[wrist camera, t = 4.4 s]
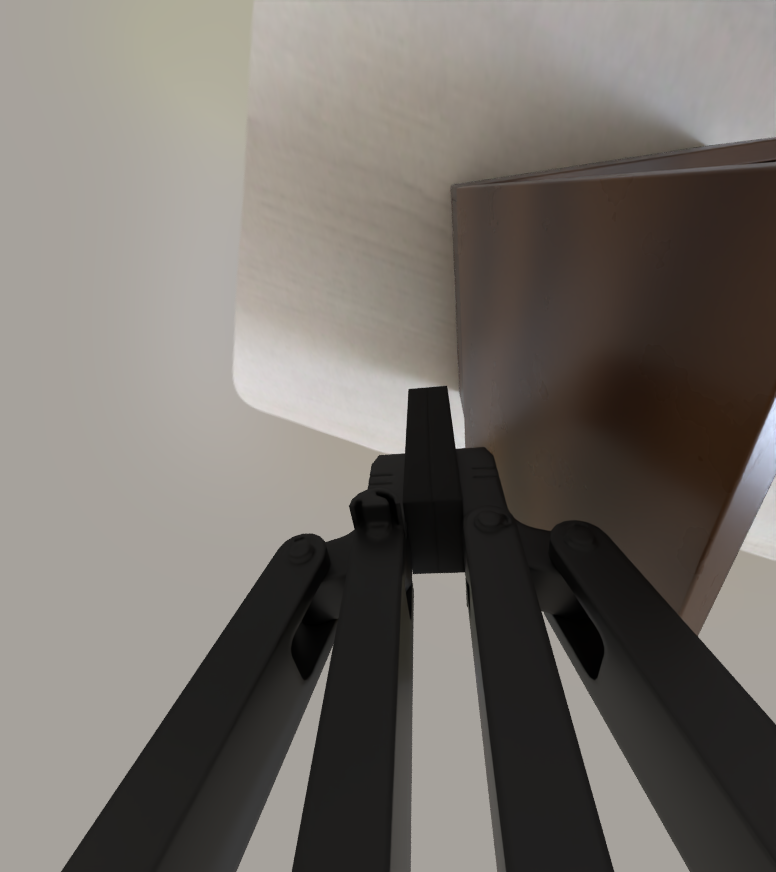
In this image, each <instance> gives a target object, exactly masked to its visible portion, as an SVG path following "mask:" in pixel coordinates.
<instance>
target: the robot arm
mask: <svg viewBox="0 0 776 872" xmlns="http://www.w3.org/2000/svg"><path fill="white" fill-rule="evenodd" d="M349 507H350V512H351V516H352V520H353V524H354V528H355V530H354V531H352V532H351V533H349V534H347V535H346V536H343V537H341V538H338V539H334V540H331V541H328V542H325V541H324V540H323V539H322V538H321V537H320V536H317V535H315V534H301V535H297V536H294V537H292V538H291V539H289V540H287V541H286V542H285V543H284V544H283V545H282V546H281V547H280V548H279V549H278V550H277V552H276V553H275V555H274V556H273V558H272V559H271V561H270V562H269V564H268V565H267V567H266V568H265V570H264V571H263V573H262V574H261V576H260V577H259V579H258V580H257V582H256V583H255V585H254V586H253V588H252V589H251V591H250V592H249V594H248V595H247V597H246V598H245V599H244V601H243V603H242V604H241V605H240V607H239V608H238V610H237V611H236V613H235V614H234V616H233V617H232V619H231V620H230V622H229V623H228V625H227V626H226V628H225V629H224V631H223V632H222V634H221V635H220V637H219V638H218V640H217V641H216V643H215V644H214V645H213V647H212V648H211V650H210V651H209V653H208V655H207V656H206V657H205V659H204V660H203V662H202V663H201V665H200V666H199V668H198V669H197V671H196V672H195V674H194V675H193V677H192V678H191V680H190V681H189V683H188V684H187V686H186V687H185V689H184V690H183V691H182V693H181V695H180V696H179V698H178V699H177V700H176V702H175V703H174V705H173V706H172V708H171V709H170V711H169V712H168V714H167V715H166V717H165V718H164V720H163V721H162V723H161V724H160V726H159V727H158V729H157V730H156V732H155V733H154V735H153V736H152V738H151V739H150V741H149V742H148V743H147V745H146V747H145V748H144V749H143V751H142V752H141V754H140V755H139V757H138V758H137V760H136V761H135V763H134V764H133V766H132V767H131V769H130V770H129V772H128V773H127V775H126V776H125V778H124V779H123V781H122V782H121V783H120V785H119V787H118V788H117V789H116V791H115V792H114V794H113V795H112V797H111V798H110V800H109V801H108V803H107V804H106V806H105V807H104V809H103V810H102V812H101V813H100V815H99V816H98V818H97V819H96V821H95V822H94V824H93V825H92V827H91V828H90V830H89V831H88V832H87V834H86V835H85V837H84V839H83V840H82V841H81V843H80V844H79V846H78V847H77V849H76V850H75V852H74V853H73V855H72V856H71V858H70V859H69V861H68V862H67V864H66V865H65V867H64V868H63V870H62V871H61V872H236V871H237V869H238V866H239V864H240V862H241V859H242V857H243V855H244V852H245V850H246V848H247V845H248V843H249V841H250V838H251V836H252V834H253V831H254V829H255V827H256V824H257V822H258V820H259V817H260V815H261V812H262V810H263V808H264V806H265V803H266V801H267V798H268V796H269V794H270V791H271V789H272V787H273V784H274V782H275V780H276V777H277V775H278V773H279V770H280V768H281V766H282V763H283V761H284V759H285V756H286V754H287V752H288V749H289V747H290V745H291V742H292V740H293V737H294V735H295V733H296V730H297V728H298V726H299V723H300V721H301V719H302V716H303V714H304V712H305V709H306V707H307V705H308V702H309V700H310V698H311V695H312V693H313V691H314V688H315V686H316V684H317V681H318V679H319V677H320V674H321V672H322V669H323V667H324V665H325V662H326V660H327V658H328V656H329V653H330V651H331V648H332V646H333V650H332V655H331V661H330V666H329V672H328V677H327V683H326V689H325V694H324V699H323V705H322V710H321V715H320V721H319V726H318V732H317V737H316V743H315V748H314V754H313V759H312V765H311V770H310V775H309V781H308V786H307V792H306V797H305V803H304V808H303V813H302V819H301V824H300V830H299V835H298V841H297V846H296V852H295V857H294V863H293V868H292V872H410V871H411V868H410V867H411V783H412V696H413V693H412V692H413V690H412V689H413V610H414V609H413V608H414V604H413V603H414V589H413V583H412V570H413V574H424V573H425V574H426V573H458V572H465V576H466V595H467V607H468V610H469V619H470V629H471V638H472V647H473V656H474V665H475V674H476V683H477V692H478V700H479V710H480V719H481V728H482V737H483V746H484V755H485V764H486V773H487V782H488V791H489V800H490V808H491V809H490V810H491V819H492V827H493V837H494V846H495V855H496V863H497V872H614V870H613V866H612V862H611V859H610V855H609V851H608V848H607V844H606V841H605V837H604V834H603V830H602V826H601V823H600V820H599V816H598V812H597V808H596V805H595V801H594V798H593V794H592V791H591V787H590V784H589V780H588V777H587V773H586V769H585V766H584V762H583V759H582V755H581V751H580V748H579V744H578V741H577V737H576V733H575V730H574V726H573V723H572V720H571V716H570V712H569V709H568V705H567V702H566V698H565V694H564V690H563V687H562V683H561V680H560V676H559V673H558V669H557V666H556V662H555V658H554V655H553V651H552V648H551V644H550V640H549V637H548V633H547V630H546V626H545V623H544V619H543V615H542V612H541V611H543V612H544V614H545V616H546V618H547V620H548V622H549V623H550V625H551V627H552V629H553V630H554V632H555V634H556V636H557V638H558V639H559V641H560V643H561V645H562V646H563V648H564V650H565V652H566V653H567V655H568V657H569V659H570V660H571V662H572V664H573V666H574V667H575V669H576V671H577V673H578V675H579V676H580V678H581V680H582V682H583V683H584V685H585V687H586V689H587V691H588V692H589V694H590V696H591V697H592V699H593V701H594V703H595V705H596V706H597V708H598V710H599V712H600V714H601V715H602V717H603V719H604V721H605V722H606V724H607V726H608V728H609V729H610V731H611V733H612V735H613V736H614V738H615V740H616V742H617V744H618V745H619V747H620V749H621V751H622V752H623V754H624V756H625V758H626V759H627V761H628V763H629V765H630V767H631V768H632V770H633V772H634V774H635V775H636V777H637V779H638V780H639V782H640V784H641V786H642V788H643V790H644V791H645V793H646V795H647V797H648V798H649V800H650V802H651V804H652V805H653V807H654V809H655V811H656V813H657V814H658V816H659V818H660V819H661V821H662V823H663V825H664V826H665V828H666V830H667V832H668V834H669V835H670V837H671V839H672V841H673V842H674V844H675V846H676V848H677V849H678V851H679V853H680V855H681V857H682V858H683V860H684V862H685V864H686V866H687V867H688V869H689V871H690V872H776V725H775V723H774V722H773V721H772V720H771V719H770V718H769V716H768V715H767V714H766V713H765V712H764V711H763V710H762V709H761V707H760V706H759V705H758V704H757V703H756V702H755V701H754V700H753V698H752V697H751V696H750V695H749V694H748V693H747V692H746V691H745V690H744V688H743V687H742V686H741V685H740V684H739V683H738V682H737V681H736V680H735V678H734V677H733V676H732V675H731V674H730V673H729V671H728V670H727V669H726V668H725V667H724V666H723V665H722V664H721V662H720V661H719V660H718V659H717V658H716V657H715V656H714V654H713V653H712V652H711V651H710V650H709V649H708V648H707V647H706V645H705V644H704V643H703V642H702V641H701V640H700V639H699V638H698V636H697V635H696V634H695V633H694V632H693V631H692V630H691V629H690V627H689V626H688V625H687V624H686V623H685V622H684V621H683V619H682V618H681V617H680V616H679V615H678V614H677V613H676V612H675V610H674V609H673V608H672V607H671V606H670V605H669V604H668V603H667V601H666V600H665V599H664V598H663V597H662V596H661V595H660V594H659V592H658V591H657V590H656V589H655V588H654V587H653V586H652V585H651V583H650V582H649V581H648V580H647V579H646V578H645V577H644V576H643V574H642V573H641V572H640V571H639V570H638V569H637V568H636V567H635V565H634V564H633V563H632V562H631V561H630V560H629V559H628V557H627V556H626V555H625V554H624V553H623V552H622V551H621V550H620V548H619V547H618V546H617V545H616V544H615V543H614V542H613V541H612V539H611V538H610V537H609V536H608V535H607V534H606V533H605V532H604V531H602V530H601V529H600V528H599V527H597V526H595V525H592V524H590V523H588V522H584V521H578V520H570V521H563V522H561V523H559V524H556V525H555V527H554V528H553V529H552V530H551V531H548V530H543V529H537V528H533V527H530V526H527V525H525V524H523V523H521V522H519V521H518V520H516V519H515V518H514V517H513V515H512V514H511V513H510V512H509V509H508V507H507V503H506V500H505V496H504V492H503V488H502V485H501V481H500V477H499V474H498V470H497V467H496V462H495V459H494V455H493V454H492V453H490V452H489V451H488V450H487V449H486V448H485V447H476V448H462V449H456V448H455V441H454V433H453V426H452V418H451V411H450V403H449V396H448V388H447V386H439V387H428V388H417V389H409V391H408V410H407V428H406V447H405V454H391V455H379V456H378V458H377V459H376V460H375V461H374V463H373V464H372V466H371V472H370V478H369V486H368V490H365V491H363V492H361V493H359V494H358V495H357V496H356V497H354V498H353V499H352V501H351V503H350V505H349ZM333 644H334V645H333Z"/></svg>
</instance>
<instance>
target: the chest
mask: <svg viewBox="0 0 776 872" xmlns="http://www.w3.org/2000/svg"><path fill="white" fill-rule="evenodd" d="M768 162H776V137H774V138H766V139H758V140H750V141H742V142H734V143H726V144H718V145H709V146H703V147H696V148H690V149H683V150H677V151H670V152H664V153H657V154H651V155H644V156H637V157H631V158H624V159H618V160H611V161H605V162H598V163H592V164H585V165H579V166H572V167H566V168H559V169H553V170H546V171H540V172H533V173H526V174H520V175H513V176H507V177H500V178H494V179H487V180H481V181H474V182H468V183H461V184H455V185H451V203H452V227H453V251H454V276H455V300H456V324H457V349H458V373H459V393H460V398H461V404H462V409H463V414H464V392H463V363H462V334H461V306H460V277H459V248H458V219H457V191H456V190H457V188H458V187H464V186H471V185H483V184H496V183H509V182H522V181H535V180H548V179H561V178H574V177H587V176H600V175H613V174H626V173H639V172H652V171H665V170H678V169H690V168H703V167H716V166H729V165H742V164H755V163H768Z"/></svg>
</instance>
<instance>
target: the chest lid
mask: <svg viewBox="0 0 776 872" xmlns="http://www.w3.org/2000/svg"><path fill="white" fill-rule="evenodd" d="M456 191H457V219H458V248H459V277H460V306H461V334H462V363H463V392H464V420H465V448H476V447H485V448H486V449H487V450H488V451H489V452H490V453H492V454H493V455H494V459H495V462H496V467H497V470H498V474H499V477H500V481H501V485H502V488H503V492H504V496H505V500H506V503H507V507H508V509H509V512H510V513H511V514H512V515H513V517H514V518H515V519H516V520H518V521H519V522H521V523H523V524H525V525H527V526H530V527H533V528H537V529H543V530H548V531H551V530H552V529H553V528H554V527H555V525H556V524H559V523H561V522H563V521H570V520H578V521H584V522H588V523H590V524H592V525H595V526H597V527H599V528H600V529H601V530H602V531H604V532H605V533H606V534H607V535H608V536H609V537H610V538H611V539H612V541H613V542H614V543H615V544H616V545H617V546H618V547H619V548H620V550H621V551H622V552H623V553H624V554H625V555H626V556H627V557H628V559H629V560H630V561H631V562H632V563H633V564H634V565H635V567H636V568H637V569H638V570H639V571H640V572H641V573H642V574H643V576H644V577H645V578H646V579H647V580H648V581H649V582H650V583H651V585H652V586H653V587H654V588H655V589H656V590H657V591H658V592H659V594H660V595H661V596H662V597H663V598H664V599H665V600H666V601H667V603H668V604H669V605H670V606H671V607H672V608H673V609H674V610H675V612H676V613H677V614H678V615H679V616H680V617H681V618H682V619H683V621H684V622H685V623H686V624H687V625H688V626H689V627H690V629H691V630H692V631H693V632H694V633H695V634H696V635H697V636H698V635H699V633H700V631H701V629H702V627H703V624H704V622H705V620H706V618H707V616H708V614H709V612H710V610H711V608H712V606H713V604H714V602H715V599H716V598H717V595H718V593H719V591H720V589H721V587H722V585H723V583H724V581H725V579H726V577H727V575H728V573H729V571H730V569H731V566H732V564H733V562H734V560H735V558H736V556H737V554H738V552H739V550H740V548H741V546H742V544H743V542H744V539H745V537H746V535H747V533H748V531H749V529H750V527H751V525H752V523H753V521H754V519H755V517H756V515H757V512H758V510H759V508H760V506H761V504H762V502H763V500H764V498H765V496H766V494H767V492H768V490H769V488H770V486H771V483H772V481H773V479H774V477H775V475H776V162H768V163H755V164H742V165H729V166H716V167H703V168H690V169H678V170H665V171H652V172H639V173H626V174H613V175H600V176H587V177H574V178H561V179H548V180H535V181H522V182H509V183H496V184H483V185H471V186H464V187H458V188H457V190H456Z"/></svg>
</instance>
